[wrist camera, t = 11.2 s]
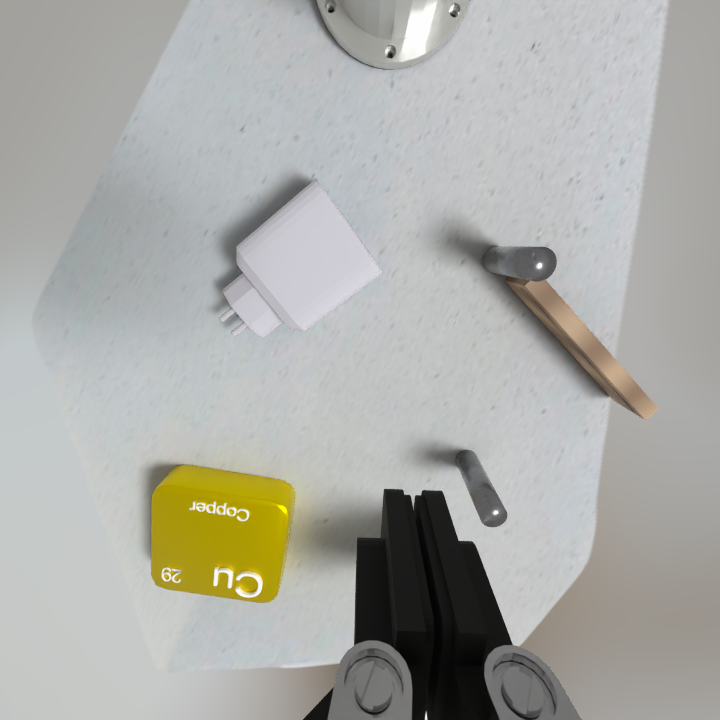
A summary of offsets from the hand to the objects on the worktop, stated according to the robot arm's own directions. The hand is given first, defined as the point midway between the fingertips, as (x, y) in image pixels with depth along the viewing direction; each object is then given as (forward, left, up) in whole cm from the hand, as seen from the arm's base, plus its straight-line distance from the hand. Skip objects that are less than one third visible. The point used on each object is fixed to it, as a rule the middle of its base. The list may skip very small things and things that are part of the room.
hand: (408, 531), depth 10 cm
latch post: (+15, +11, -27) cm, 33 cm away
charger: (-5, -9, -28) cm, 29 cm away
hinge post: (-7, +11, -27) cm, 30 cm away
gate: (0, +19, -27) cm, 33 cm away
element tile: (+25, -17, -28) cm, 41 cm away
